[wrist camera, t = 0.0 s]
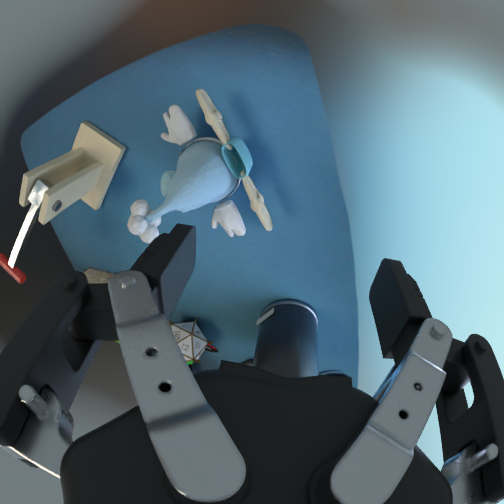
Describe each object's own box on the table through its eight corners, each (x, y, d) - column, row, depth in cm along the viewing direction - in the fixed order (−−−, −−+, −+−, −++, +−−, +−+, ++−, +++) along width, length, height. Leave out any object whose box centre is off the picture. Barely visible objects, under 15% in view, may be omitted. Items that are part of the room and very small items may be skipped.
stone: (84, 260, 47) (92, 278, 50) (76, 270, 45) (84, 288, 48) (142, 280, 45) (147, 299, 49) (133, 292, 43) (139, 311, 47)
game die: (196, 319, 54) (174, 365, 51) (165, 300, 48) (141, 350, 45) (229, 332, 48) (205, 383, 45) (197, 313, 43) (169, 371, 39)
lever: (26, 281, 29) (16, 286, 26) (3, 260, 27) (-7, 263, 25) (65, 194, 28) (56, 194, 26) (40, 173, 27) (30, 172, 25)
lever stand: (100, 207, 39) (48, 251, 29) (65, 180, 37) (10, 216, 27) (126, 147, 34) (65, 178, 23) (87, 120, 32) (21, 143, 21)
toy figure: (148, 126, 32) (72, 156, 20) (220, 85, 29) (168, 83, 16) (209, 233, 39) (171, 307, 27) (281, 206, 36) (272, 278, 23)
